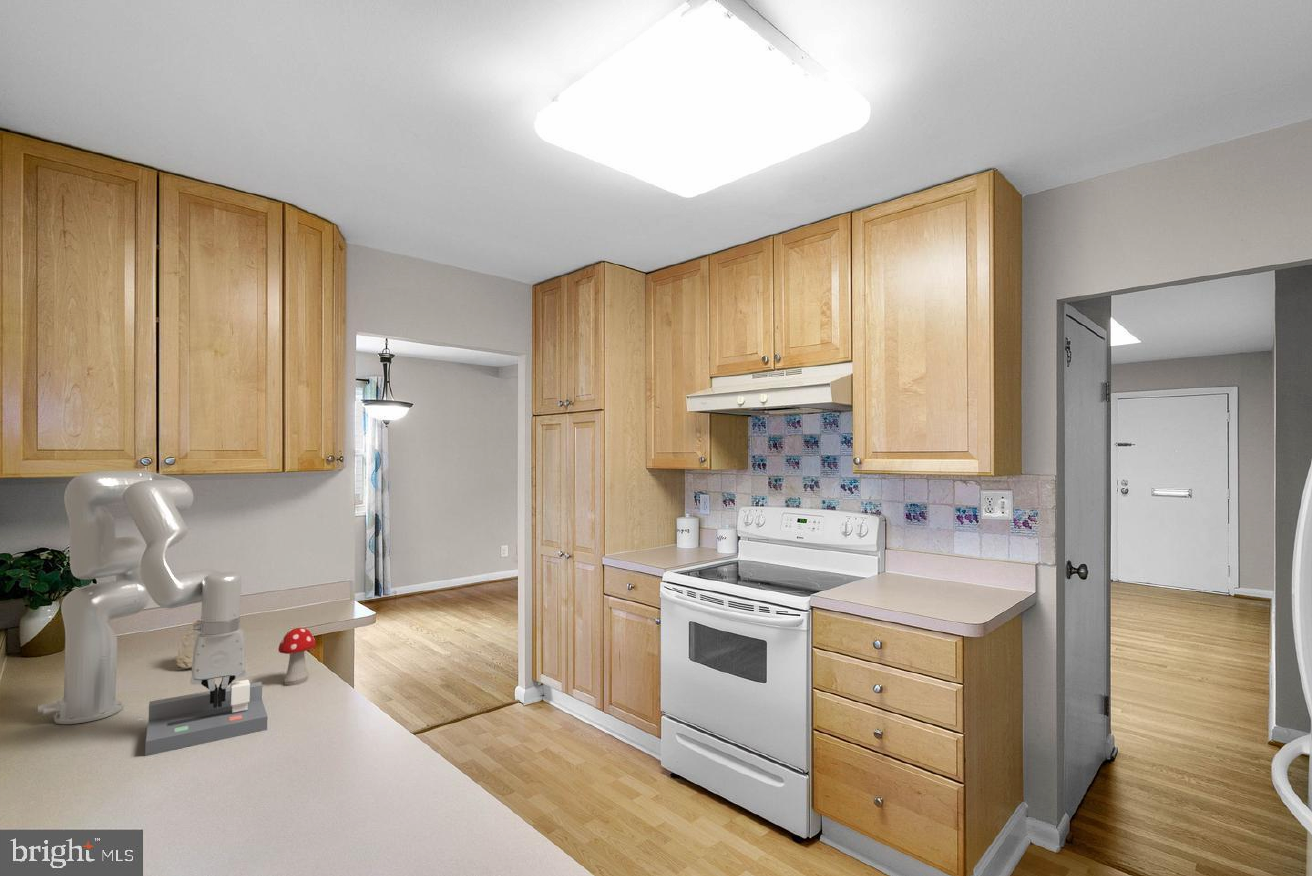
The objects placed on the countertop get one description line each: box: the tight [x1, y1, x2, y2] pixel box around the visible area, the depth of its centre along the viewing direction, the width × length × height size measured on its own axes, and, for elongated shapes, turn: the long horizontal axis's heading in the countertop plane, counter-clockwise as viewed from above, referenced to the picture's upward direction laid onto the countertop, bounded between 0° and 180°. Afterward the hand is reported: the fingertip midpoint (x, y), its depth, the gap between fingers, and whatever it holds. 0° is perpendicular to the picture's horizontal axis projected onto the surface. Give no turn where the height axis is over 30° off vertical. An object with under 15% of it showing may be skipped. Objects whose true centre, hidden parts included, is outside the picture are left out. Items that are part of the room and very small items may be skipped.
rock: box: [174, 619, 201, 670], centre depth 190 cm, size 15×8×15 cm
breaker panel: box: [144, 681, 268, 757], centre depth 146 cm, size 22×16×6 cm
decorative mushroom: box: [277, 627, 317, 686], centre depth 177 cm, size 10×9×15 cm
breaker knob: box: [229, 679, 251, 713], centre depth 149 cm, size 4×4×6 cm
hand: (217, 705), depth 147 cm, fingers closed
